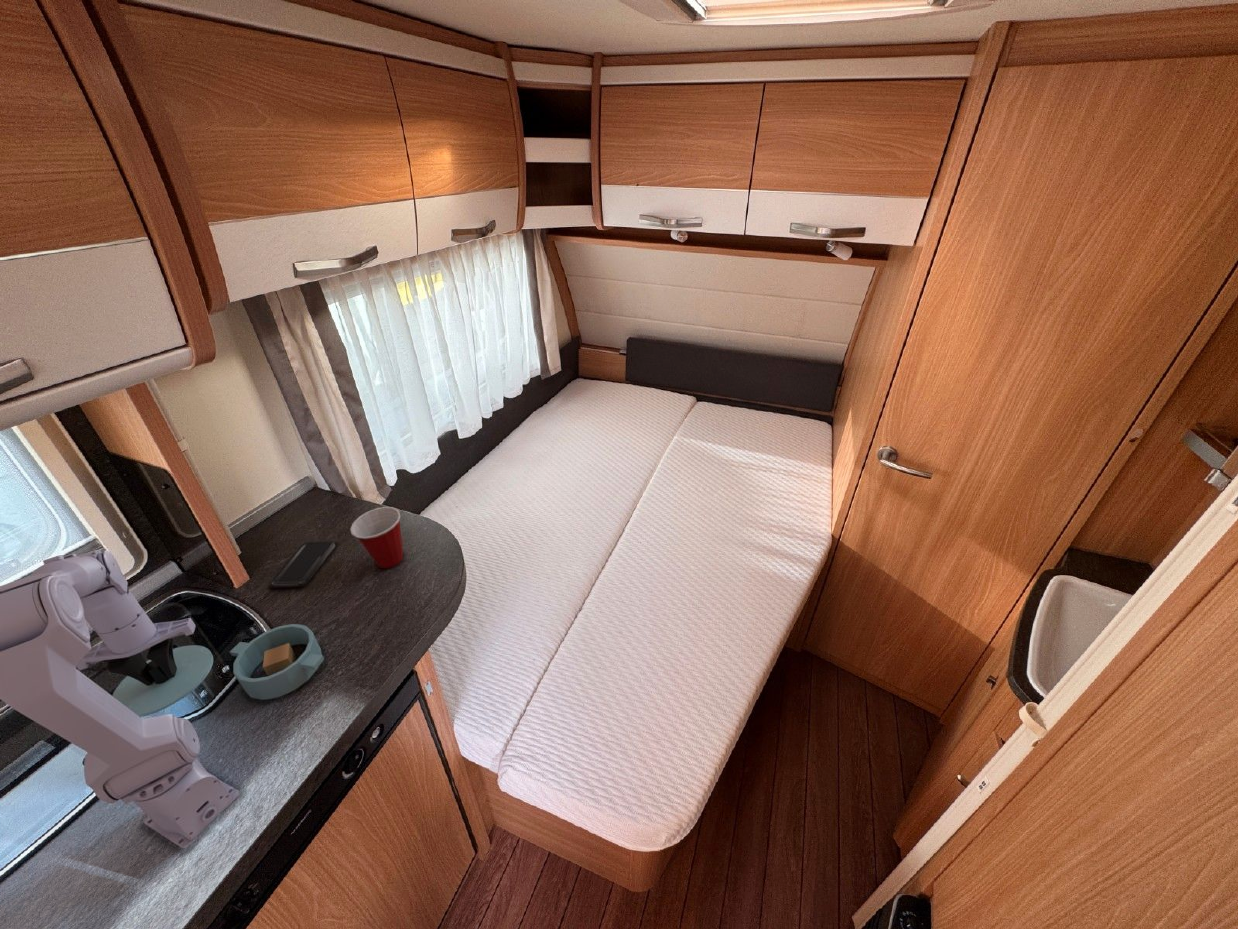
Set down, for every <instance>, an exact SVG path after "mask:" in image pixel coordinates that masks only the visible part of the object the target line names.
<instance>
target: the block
mask: <svg viewBox="0 0 1238 929" xmlns="http://www.w3.org/2000/svg"><path fill="white" fill-rule="evenodd" d="M296 660H297V655H296V654H295V651H294V649H293V648H292V645H291V646H290V644H289V643H287V644H284V645H282V646H279V647H276V648H273V649H270V650H267V651H265V652H264V660H263V661H262V662H263V663H262V670H264V672H265V674H266V675H267V676H270V675H273V674H275V673H277V672H280V671H282V670H284V669H285V668H287V667H288V666H290V665H291V664H293V663H294V662H295V661H296Z"/></svg>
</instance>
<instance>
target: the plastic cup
mask: <svg viewBox="0 0 1238 929" xmlns="http://www.w3.org/2000/svg"><path fill="white" fill-rule="evenodd" d="M350 533H351V535H352V536H353V537H355V538H356V539H358V540H359V541H360V543H361V544H362V546H364V548H365V550H366V551H367V552H368V554H369V555H370V557H371V558H372V559H373V561H374V563H375V564H376V565H377V566H378V567H379V568H381V569H390V568H393V567H395V566H397V565H399V564H400V563H401V562H402V561H403V558H404V552H403V550H404V549H403V541H402V531H401V513H400V510H399V509H397V508H395V507H393V506H382V507H377V508H374V509H371V510H368V511H366V512H364V513H363V514H361V515H360V516H358V517H357V518H356V519H355V520H354V521H353V522H352V524H351V526H350Z"/></svg>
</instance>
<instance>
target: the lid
mask: <svg viewBox="0 0 1238 929" xmlns="http://www.w3.org/2000/svg"><path fill="white" fill-rule="evenodd" d="M173 656H174V660H175V664H176V667H177V671H176V674H175V677H172V678H168V677H167V676H166V675H165V673H164V672H163V671H162V669H161V668H160V667H159V666H158V665H157V664H156V663H154V662H153V661H151V660H149V659H147V660H145V661H146V662H147V663H148V664H147V665H146V666H145V667H144V670H145V672H146V673H147V674H148V675H149V677H150V678H151V679H152V681H153V684H152V685H149V686H147V685H145V684H143V683H142V682H140V681H138V680H136V679H134V678H132V677H129V676H125V677H124V678H123V680H121V681H120V682H119V684H118V685H117V687H116V688H115V690H114V691H113V693H112V694H111V696H113V697H114V698H115V699H117V700H118V701H119V702H121V703H122V704H123V705H125V706H126V707H127V708H128V709H130V710H131V711H132V712H134V713H135V714H136V715H138V716H139V717H140V718H142V717H147V716H149V715H154V714H156V713H158V712H161V711H163V710H165V709H168V708H169V707H171V706H173V705H175V704H176V703H178V702H180V701H181V700H183V699H184V698H186V697H187V696H188V695H189V694H191V693H192V692H193V691H194V690H196V689H197V688H198V687H199V686H200V685H201V684H202V683H203V681H204V680H205V679H206V678H207V677H208V676H209V674H210V672H211V670H212V667H213V665H214V656H213V653H212V651H211V650H210V649H209V648H207V647H205V646H203V645H196V644H194V645H192V644H191V645H190V644H189V645H183V646H178V647H175V648H173Z"/></svg>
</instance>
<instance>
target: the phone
mask: <svg viewBox="0 0 1238 929" xmlns="http://www.w3.org/2000/svg"><path fill="white" fill-rule="evenodd" d="M335 548H336V544H335V542H334V541H333V540H315V541H314V540H313V541H311V540H308V541H305V542H304V543H302V544H301V546H299V548H298V549H297V550H296V551H295V553H294V554H292V556H291V557H290V559H288V561H287V562H286V563H285V565H284V566H283V567H282V568H281V569H280V571H279V572H278V573H277V574H276V575H275V576H274V578H273V579H272V580H271V583H270V584H271V585H272V587H273V588H274V589H281V588H282V589H283V588H286V589H287V588H288V589H289V588H303V587H305V586H306V585H308V584H309V582H310V581H311V579H312V578H313V577H314V575H315V574H316V573H317V571H318V570H319V569H320V567H321V566H322V565H323V564H324V562H325V561H326V560H327V558H328V557H329V556H330V554H331V553H332V552H333V550H334V549H335Z"/></svg>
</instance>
